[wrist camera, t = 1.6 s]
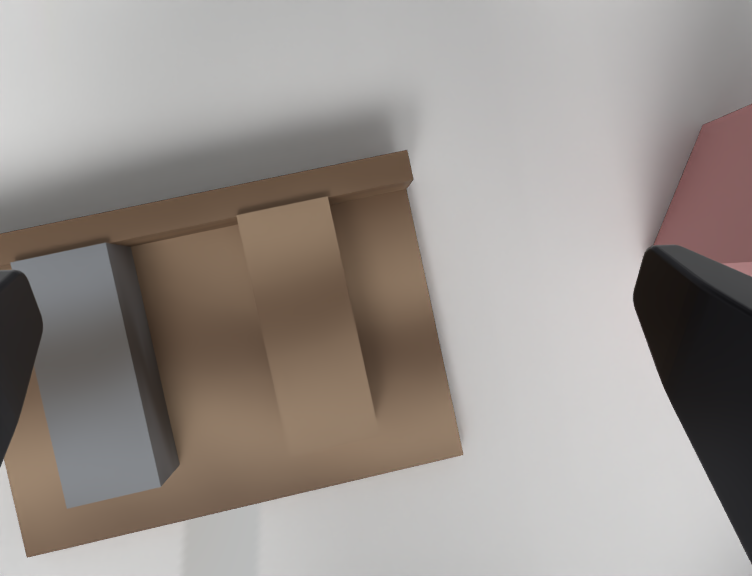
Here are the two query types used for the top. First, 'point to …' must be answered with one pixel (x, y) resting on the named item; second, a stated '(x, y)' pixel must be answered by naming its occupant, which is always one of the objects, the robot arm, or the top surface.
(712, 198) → the dusty red block
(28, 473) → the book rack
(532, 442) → the top surface
